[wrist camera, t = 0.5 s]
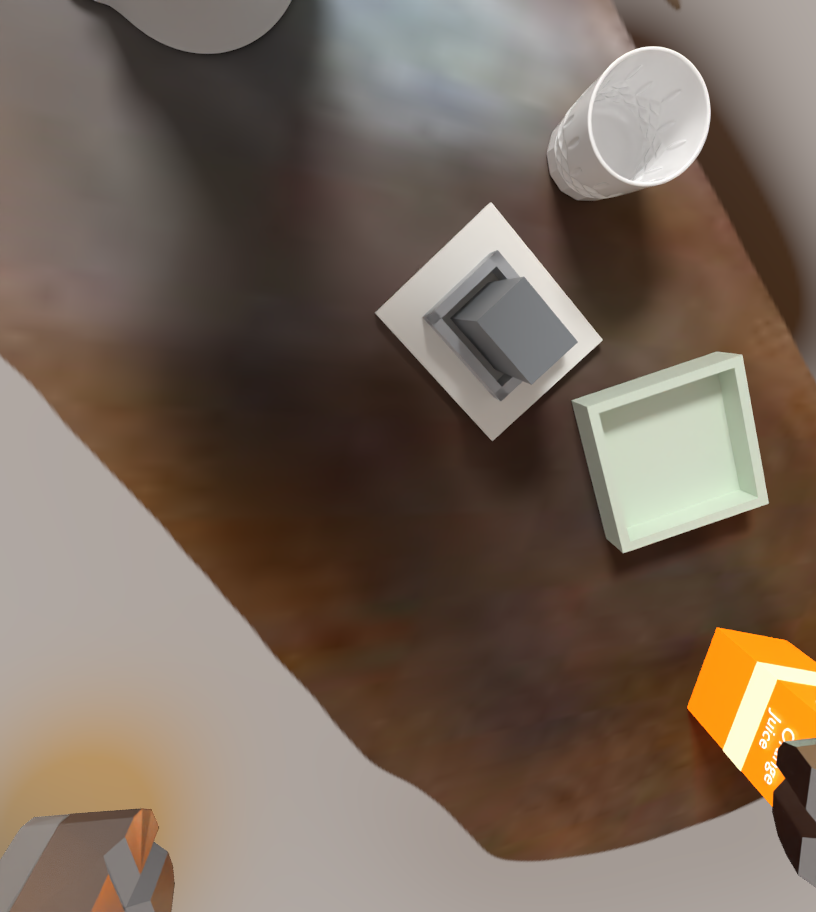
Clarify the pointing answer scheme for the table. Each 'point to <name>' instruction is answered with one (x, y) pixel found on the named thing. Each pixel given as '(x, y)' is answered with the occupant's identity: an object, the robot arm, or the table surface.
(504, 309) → the gray rectangular block
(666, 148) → the white cup
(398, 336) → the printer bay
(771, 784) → the orange juice
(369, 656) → the table surface
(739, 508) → the sage tray
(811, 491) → the table surface
